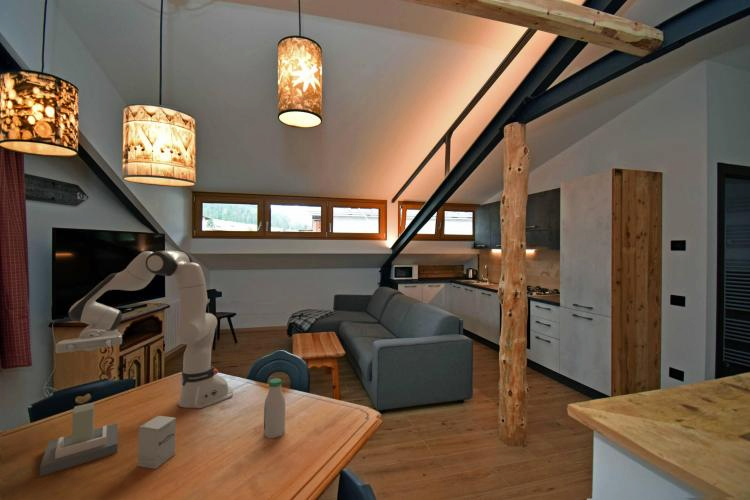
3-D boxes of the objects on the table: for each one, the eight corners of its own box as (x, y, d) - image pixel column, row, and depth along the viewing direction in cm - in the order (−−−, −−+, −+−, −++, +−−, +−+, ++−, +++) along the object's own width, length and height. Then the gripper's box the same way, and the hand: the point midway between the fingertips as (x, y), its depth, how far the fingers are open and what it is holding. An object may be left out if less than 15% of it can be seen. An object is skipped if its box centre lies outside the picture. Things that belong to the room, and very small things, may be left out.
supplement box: (156, 469, 97) (157, 429, 97) (136, 466, 98) (137, 426, 98) (175, 454, 104) (176, 417, 104) (157, 451, 105) (158, 414, 105)
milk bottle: (289, 430, 119) (290, 378, 119) (274, 441, 112) (275, 386, 112) (273, 425, 122) (274, 374, 123) (259, 435, 115) (260, 382, 116)
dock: (117, 431, 117) (117, 416, 117) (117, 452, 104) (117, 436, 105) (48, 450, 105) (49, 434, 105) (39, 476, 93) (40, 458, 93)
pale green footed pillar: (93, 436, 108) (94, 402, 109) (92, 444, 104) (93, 409, 104) (73, 441, 105) (74, 406, 105) (71, 450, 101) (72, 413, 101)
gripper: (57, 336, 126) (51, 344, 115) (122, 328, 139) (122, 335, 129) (57, 351, 126) (51, 361, 115) (121, 342, 139) (121, 350, 128)
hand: (89, 347), depth 122 cm, fingers open, 8 cm apart
